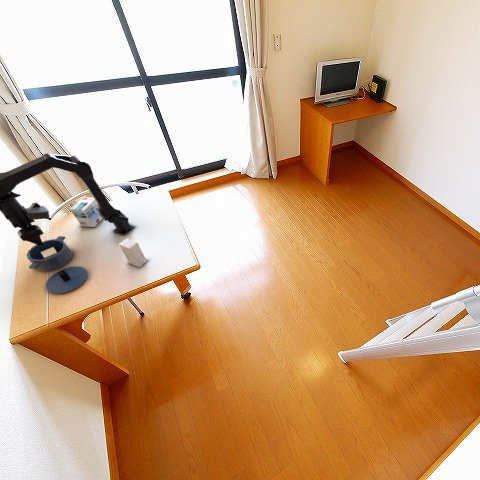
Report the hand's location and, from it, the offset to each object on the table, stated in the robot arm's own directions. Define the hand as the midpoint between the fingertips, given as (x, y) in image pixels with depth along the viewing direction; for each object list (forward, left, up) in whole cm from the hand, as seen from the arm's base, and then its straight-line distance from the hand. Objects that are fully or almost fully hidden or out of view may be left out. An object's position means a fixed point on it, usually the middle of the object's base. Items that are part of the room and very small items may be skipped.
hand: (37, 239), depth 113 cm
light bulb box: (+8, -26, -13) cm, 30 cm away
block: (0, 0, -12) cm, 12 cm away
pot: (0, 0, -13) cm, 13 cm away
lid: (-15, +6, -12) cm, 20 cm away
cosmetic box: (-32, -13, -13) cm, 37 cm away
